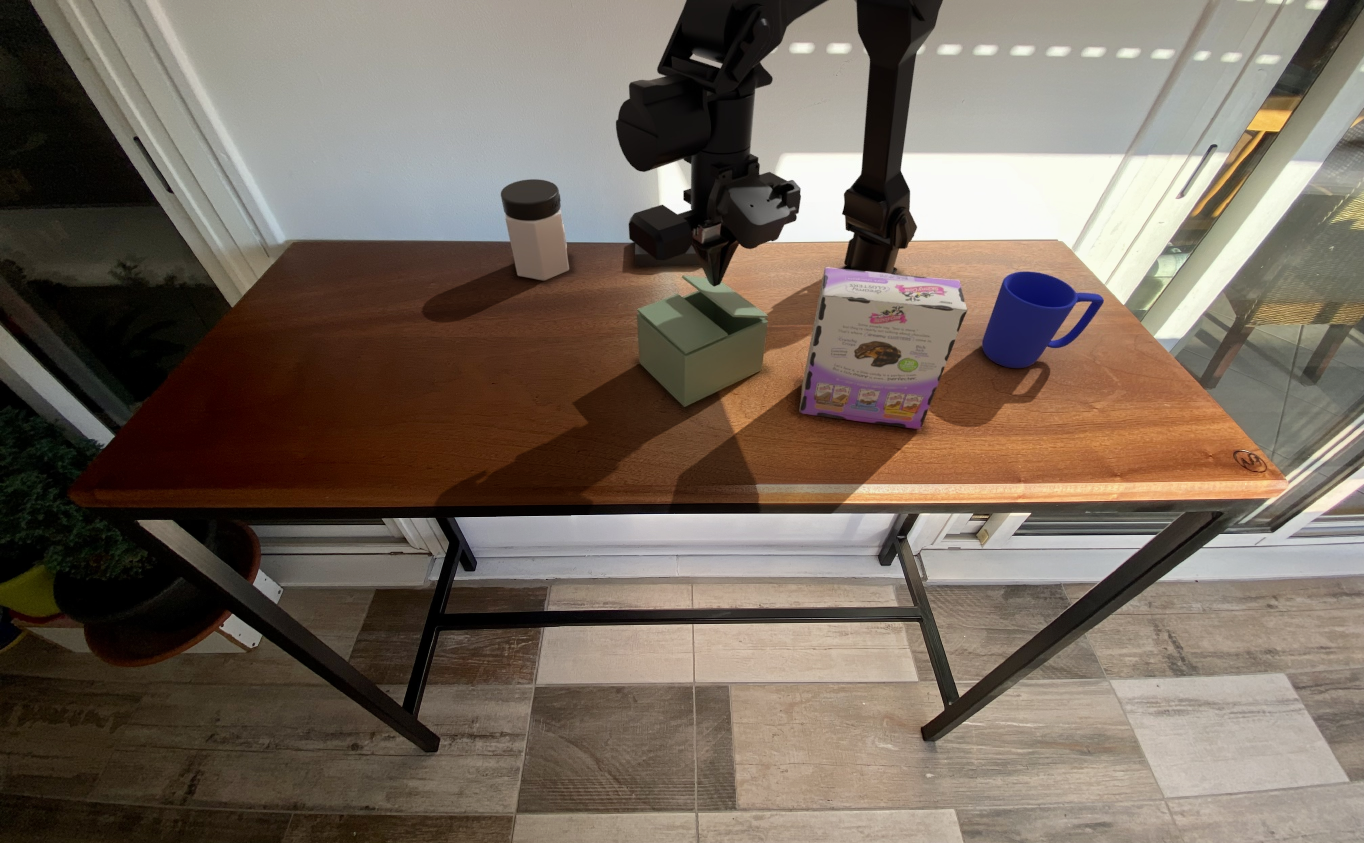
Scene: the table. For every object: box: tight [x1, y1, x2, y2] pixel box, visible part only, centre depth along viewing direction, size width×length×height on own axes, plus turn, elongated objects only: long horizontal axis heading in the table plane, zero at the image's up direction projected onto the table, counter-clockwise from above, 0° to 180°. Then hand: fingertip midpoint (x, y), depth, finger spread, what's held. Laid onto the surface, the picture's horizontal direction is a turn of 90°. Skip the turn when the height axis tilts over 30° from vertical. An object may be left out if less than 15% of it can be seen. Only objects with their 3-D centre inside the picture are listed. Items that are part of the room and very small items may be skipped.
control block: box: [634, 243, 702, 267], centre depth 94 cm, size 11×8×4 cm
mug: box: [981, 270, 1105, 369], centre depth 74 cm, size 8×12×10 cm
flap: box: [681, 275, 769, 319], centre depth 70 cm, size 6×10×1 cm, turn 35°
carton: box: [636, 290, 769, 408], centre depth 73 cm, size 12×10×8 cm
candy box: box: [799, 266, 968, 430], centre depth 65 cm, size 14×6×16 cm, turn 78°
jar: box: [500, 178, 570, 282], centre depth 88 cm, size 9×8×12 cm
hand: (714, 284), depth 68 cm, fingers closed
